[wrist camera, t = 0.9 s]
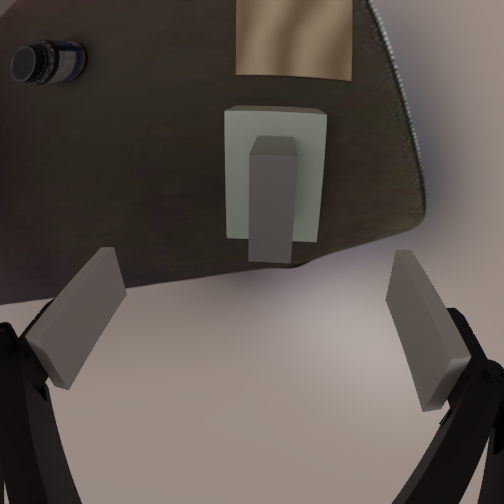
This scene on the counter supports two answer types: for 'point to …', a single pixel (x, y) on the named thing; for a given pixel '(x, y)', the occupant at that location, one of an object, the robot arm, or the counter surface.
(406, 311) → the robot arm
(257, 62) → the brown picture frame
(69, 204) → the counter surface
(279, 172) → the green base grey block
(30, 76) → the pill bottle
